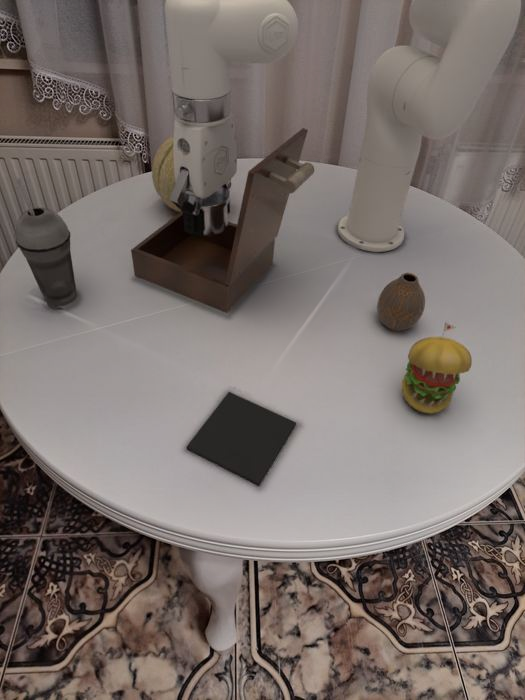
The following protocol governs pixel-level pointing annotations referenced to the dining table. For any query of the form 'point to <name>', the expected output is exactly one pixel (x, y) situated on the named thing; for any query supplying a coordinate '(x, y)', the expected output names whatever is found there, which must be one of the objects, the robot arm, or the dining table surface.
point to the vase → (401, 303)
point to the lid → (267, 202)
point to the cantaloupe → (165, 172)
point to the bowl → (214, 211)
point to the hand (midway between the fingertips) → (207, 221)
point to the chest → (196, 264)
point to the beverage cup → (47, 252)
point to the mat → (242, 437)
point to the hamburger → (434, 372)
